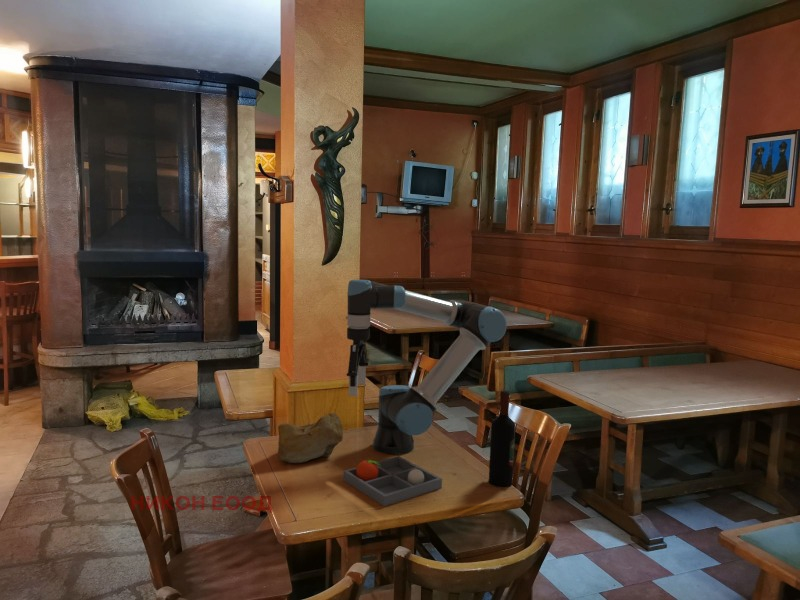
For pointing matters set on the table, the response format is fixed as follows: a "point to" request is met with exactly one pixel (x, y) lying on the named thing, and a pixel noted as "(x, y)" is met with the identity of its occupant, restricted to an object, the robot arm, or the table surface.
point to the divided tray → (393, 481)
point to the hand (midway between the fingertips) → (357, 390)
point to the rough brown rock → (309, 439)
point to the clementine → (367, 470)
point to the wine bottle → (502, 446)
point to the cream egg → (415, 477)
